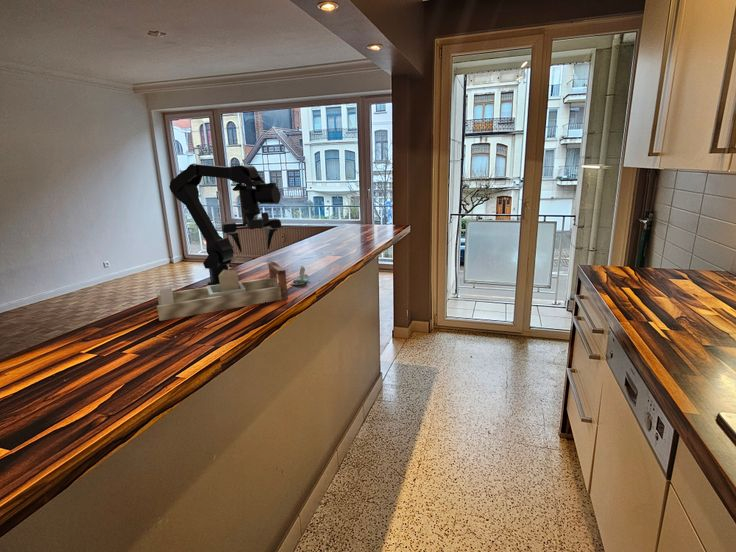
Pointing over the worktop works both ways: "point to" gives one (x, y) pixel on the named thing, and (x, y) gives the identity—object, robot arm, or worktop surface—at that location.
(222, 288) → the candle
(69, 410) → the worktop surface
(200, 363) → the worktop surface
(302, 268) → the pacifier
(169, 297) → the square frame with handle
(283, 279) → the channel
